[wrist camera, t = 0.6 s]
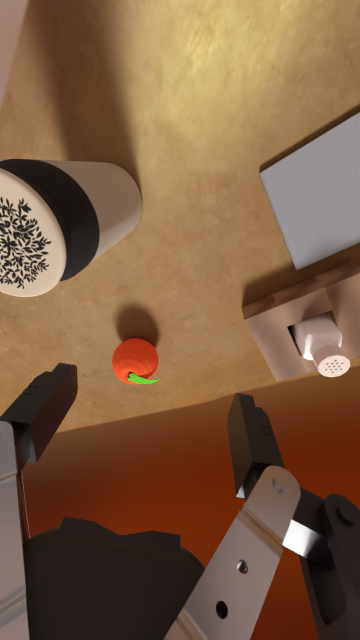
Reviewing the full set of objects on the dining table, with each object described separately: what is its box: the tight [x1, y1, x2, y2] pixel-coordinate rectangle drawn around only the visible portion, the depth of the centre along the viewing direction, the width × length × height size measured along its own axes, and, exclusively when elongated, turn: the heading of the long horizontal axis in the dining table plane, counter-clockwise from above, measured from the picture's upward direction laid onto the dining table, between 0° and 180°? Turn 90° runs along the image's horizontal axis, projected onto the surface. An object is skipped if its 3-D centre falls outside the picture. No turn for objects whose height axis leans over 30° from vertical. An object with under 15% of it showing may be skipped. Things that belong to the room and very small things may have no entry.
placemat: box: [259, 112, 360, 270], centre depth 26 cm, size 16×12×1 cm
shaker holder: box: [242, 260, 360, 382], centre depth 33 cm, size 14×12×4 cm
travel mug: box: [0, 159, 142, 297], centre depth 22 cm, size 8×8×18 cm
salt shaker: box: [292, 312, 350, 377], centre depth 31 cm, size 4×4×10 cm
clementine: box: [112, 338, 162, 384], centre depth 38 cm, size 8×7×7 cm
